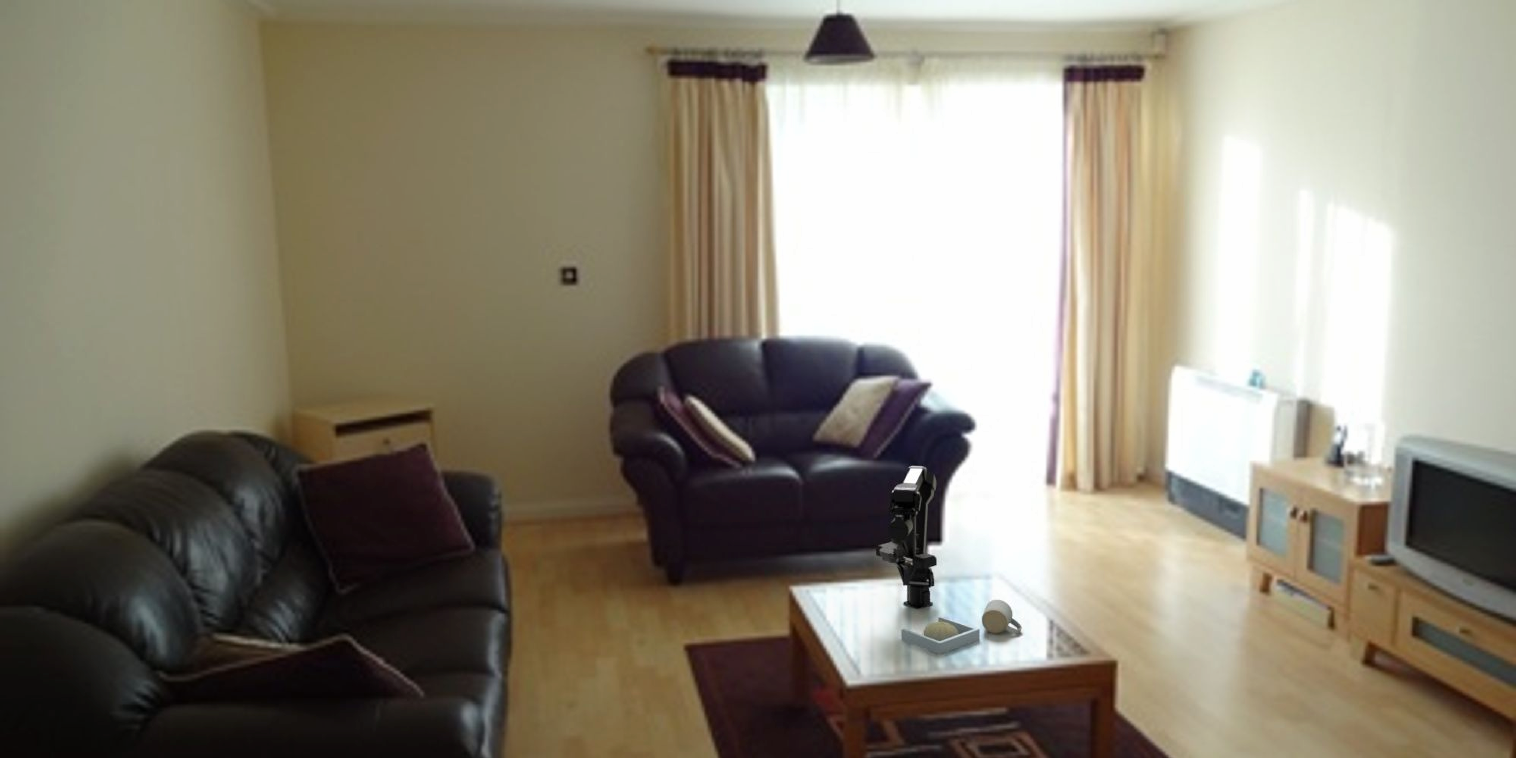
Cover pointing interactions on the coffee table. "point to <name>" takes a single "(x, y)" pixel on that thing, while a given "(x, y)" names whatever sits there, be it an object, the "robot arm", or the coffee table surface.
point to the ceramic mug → (999, 618)
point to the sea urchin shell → (940, 631)
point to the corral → (965, 637)
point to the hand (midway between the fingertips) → (905, 585)
